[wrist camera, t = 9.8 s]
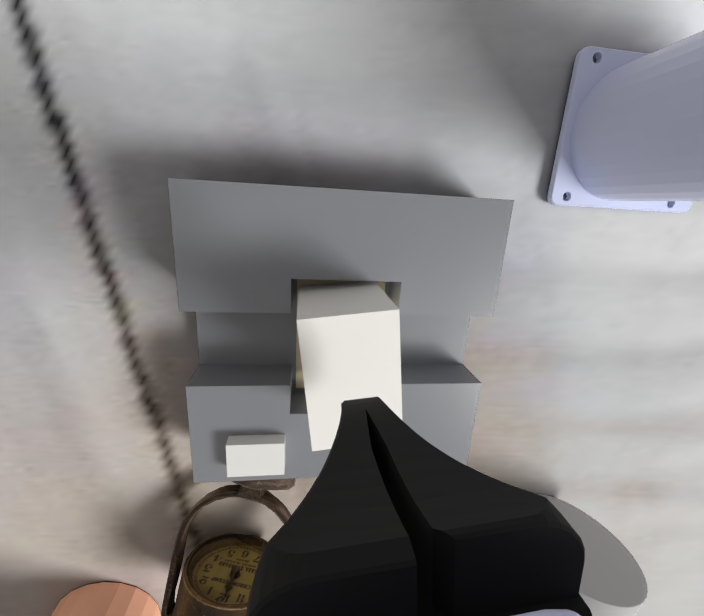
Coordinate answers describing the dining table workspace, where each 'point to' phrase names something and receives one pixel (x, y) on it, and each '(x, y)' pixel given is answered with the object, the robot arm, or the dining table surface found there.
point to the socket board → (316, 269)
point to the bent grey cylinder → (605, 567)
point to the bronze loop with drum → (220, 558)
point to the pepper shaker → (107, 601)
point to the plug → (347, 352)
